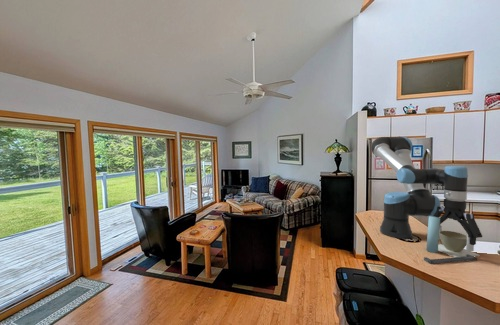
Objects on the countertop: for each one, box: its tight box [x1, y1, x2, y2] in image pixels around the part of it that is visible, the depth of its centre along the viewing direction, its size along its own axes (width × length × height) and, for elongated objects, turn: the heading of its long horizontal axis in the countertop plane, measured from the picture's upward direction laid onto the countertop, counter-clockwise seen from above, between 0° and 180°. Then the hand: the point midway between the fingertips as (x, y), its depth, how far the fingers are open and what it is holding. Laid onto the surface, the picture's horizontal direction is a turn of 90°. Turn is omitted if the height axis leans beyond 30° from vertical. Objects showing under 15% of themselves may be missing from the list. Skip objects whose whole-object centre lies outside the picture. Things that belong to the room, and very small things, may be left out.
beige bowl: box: [439, 230, 468, 252], centre depth 97 cm, size 10×10×7 cm
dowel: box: [426, 216, 440, 254], centre depth 97 cm, size 4×4×16 cm
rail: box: [423, 254, 478, 265], centre depth 89 cm, size 3×22×1 cm, turn 97°
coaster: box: [438, 243, 480, 258], centre depth 97 cm, size 12×12×1 cm
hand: (452, 244), depth 98 cm, fingers open, 13 cm apart
